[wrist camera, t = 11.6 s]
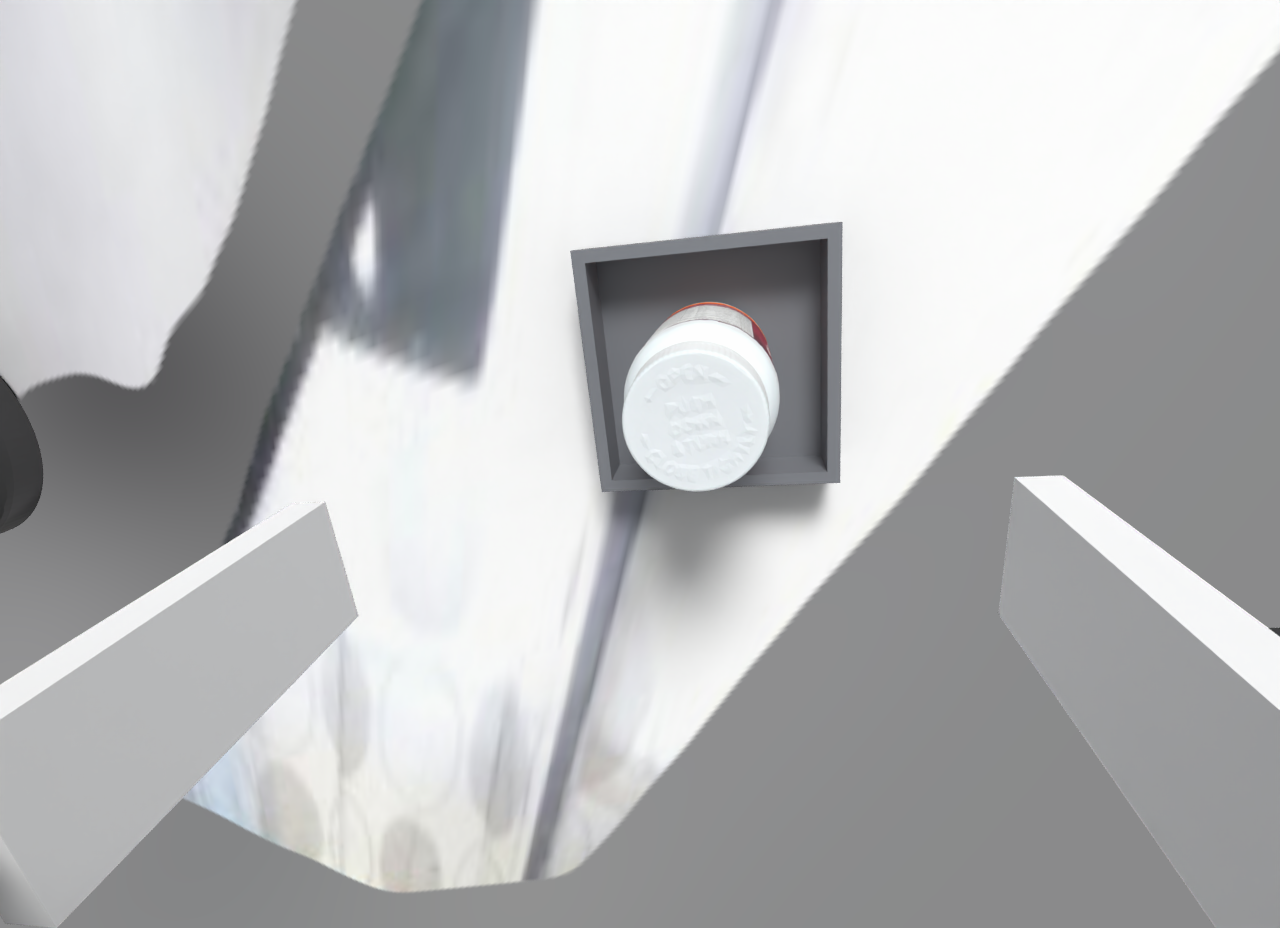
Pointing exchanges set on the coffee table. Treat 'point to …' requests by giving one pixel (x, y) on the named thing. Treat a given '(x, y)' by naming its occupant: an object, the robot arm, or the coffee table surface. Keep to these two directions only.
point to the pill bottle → (701, 398)
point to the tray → (750, 281)
